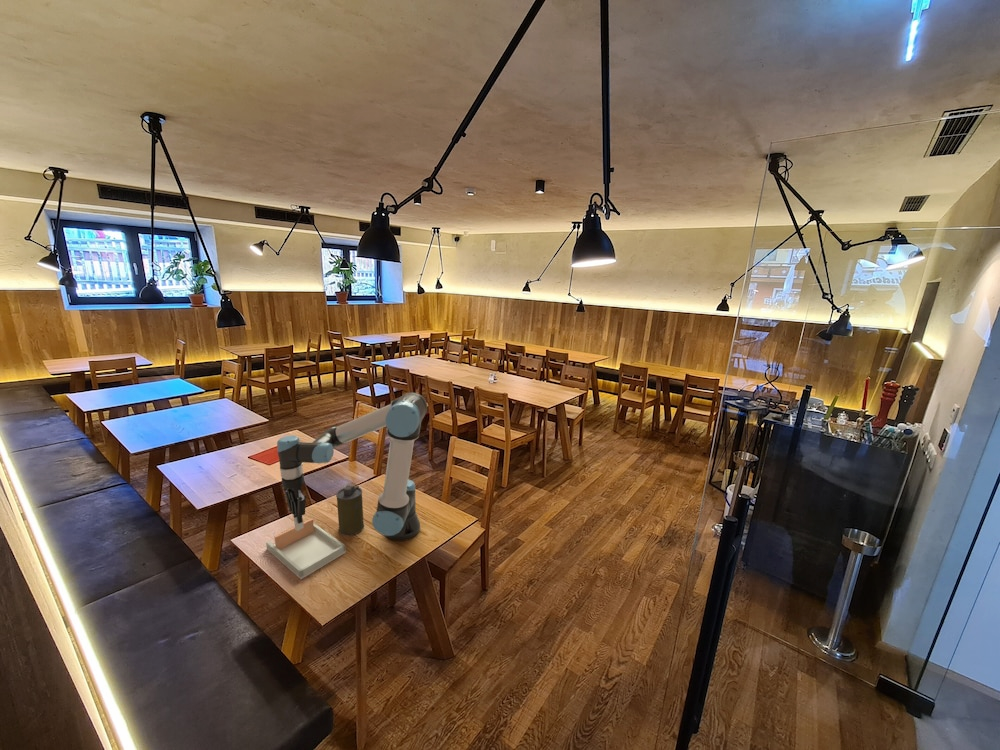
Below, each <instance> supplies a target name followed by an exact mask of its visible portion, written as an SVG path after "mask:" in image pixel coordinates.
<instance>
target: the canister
mask: <svg viewBox="0 0 1000 750" xmlns="http://www.w3.org/2000/svg"><path fill="white" fill-rule="evenodd" d="M335 496H336V503H337V506H336V507H337V516H338V517H337V518H338V532H339V534H340V535H342V536H346V537H347V536H355V535H358V534H359V533H360V532H362V531H363V530H364V529H365V524H364V508H363V507H364V505H363V489H362V488H361V487H360V486H359V485H351V484H349V485H346V486H345V487H343V488H341V489H339V490H338V491H337V492H336V494H335Z"/></svg>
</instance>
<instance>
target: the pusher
mask: <svg viewBox="0 0 1000 750" xmlns="http://www.w3.org/2000/svg"><path fill="white" fill-rule="evenodd" d="M313 523H314V519H313V518H312V517H311V518H309V519H307V520H305V521H303V526H304V528H302V529H300V530H298V531H296V530H295V526H292V527H290V528H288V529H286V530H284V531H282V532H280V533H278V534H276V535H274V544H275V546H276V547H277V548H278V549H279V550H280V549H282V548H284V547H286V546H288V545H290V544H291V543H293V542H295V541H297V540H299V539H301V538H303V537H305V536H307V535H309V534H311V533H313V532H314V524H315V523H314V524H313Z"/></svg>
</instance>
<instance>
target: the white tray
mask: <svg viewBox="0 0 1000 750" xmlns="http://www.w3.org/2000/svg"><path fill="white" fill-rule="evenodd" d="M313 524H314V532H313V533H311V534H309V535H307V536H305V537H303V538H301V539H299V540H297V541H295V542H293V543H291V544H290V545H288V546H286V547H284V548H282V549H280V550H279V549H278V548H277V547H276V546H275V543H272V542H271V541H270V540H267V541H266V542H265V544H266V550H267V551H268V552H270V553H271V554H272V555H273V556H274V557H275V558H277V560H278V561H280V563H282V564H283V565H284V566H285V567H286V568H288V570H289V571H291V572H292V573H293V574H294V575H295V576H296V577H298V578H299V579H300V580H302V579H304V578H306V577H308V576H309V575H311V574H313V573H314V572H316V571H317V570H319V569H321V568H322V567H324V566H326V565H327V564H329V563H331V562H332V561H334V560H336V559H337V558H339V557H341V556H342V555H344V554H346V552H347V551H346V545H345V544H344V543H343V542H342V541H340V540H339V539H337V538H335V537H334V536H333V535H331V534H330V533H329V532H327V531H325V530H324V529H322V528H321V527H320V526H319V525H317V524H316V523H314V522H313Z"/></svg>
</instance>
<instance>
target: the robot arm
mask: <svg viewBox="0 0 1000 750" xmlns="http://www.w3.org/2000/svg"><path fill="white" fill-rule="evenodd" d="M427 412H428V404H427V400H426V399H425V397H424V396H423V395H421V394H420V393H417V392H407V393H405V394H403V395H402V396H400V397H397V398H396V399H393V400H391V401H390V403H389V404H388V405H385V406H384V407H380V408H377V409H375V410H374V411H371V412H369V413H366V414H364V415H361V416H359V417H356V418H355V419H352V420H350V421H348V422H345V423H343V424H341V425H338V426H332V427H330V428H328V429H327V430H325V431H324V432H323V433H322V434H320V436H319V437H317V438H316V439H314V440H313V441H312V442H302V441H300V438H299V436H296V435H286V436H283V437H281V438H279V439H278V440H277V443H276V445H277V447H276V448H277V455H278V460H279V461H278V462H279V472H280V477H281V484H282V487H283V491H284V494H285V498H286V501H287V505H288V509H289V512H291V514H292V516H293V523H294V527H295V530H296V531H298V530H300V529H302V528H304V526H303V522H304V520H303V516H304V515H306V500H307V495H306V494H303V490H302V485H303V484H304V483H305V475H304V470H303V466H304V464H303V463H306V464H307V463H308V464H326V463H327V464H329V462H331V460H332V458H333V456H334V452H335V451H334V449H336V448H337V447H340V446H342V445H344V444H346V443H349V442H350V441H354V440H356V439H358V438H361V437H363V436H365V435H368V434H371V433H373V432H376V431H378V430H380V429H383V428H385V427H386V428H387V430H386V431H387V432H386V433H387V436H388V437H389V440H390V442H389V448H388V455H387V461H386V463H387V464H386V470H385V471H386V472H385V479H384V486H383V492H381V493H380V494H379V495H378V500H377V504H376V505H377V507H376V511H375V513H374V514H373V516H372V520H371V523H372V527H373V529H374V530H375V531H377V532H378V533H379V534H381V535H382V536H385V537H386V538H388V539H389V540H392V541H397V542H403V541H408V540H410V539H413V538H415V537H416V536H418V533H420V530H421V522H420V519H419V517H418V514H417V512H416V511H417V510H416V509H417V508H416V505H417V503H416V501H417V500H416V489H417V488H416V484H415V482H414V481H413V480H411V479H410V478H409V477H410V472H411V471H410V470H411V464H412V458H413V457H412V456H413V450H414V443H415V441H416V440H417V439H419V437H420V432H421V426H422V422H423V419H424V417H425V416H426V414H427Z"/></svg>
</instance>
